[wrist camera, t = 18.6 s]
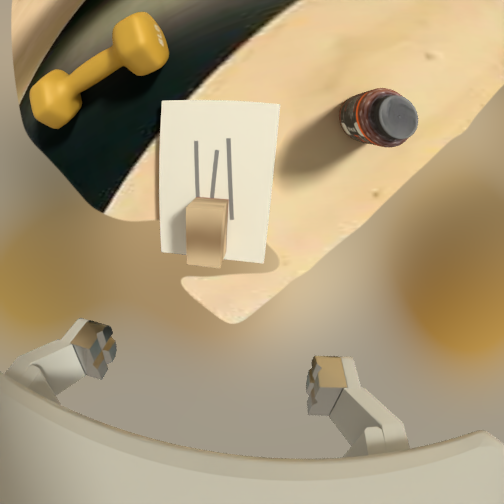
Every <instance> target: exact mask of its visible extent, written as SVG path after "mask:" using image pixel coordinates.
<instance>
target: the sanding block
mask: <svg viewBox="0 0 504 504" xmlns="http://www.w3.org/2000/svg"><path fill="white" fill-rule="evenodd" d="M228 203H229V199H219V198H205V197H196V198H195V199H194V200H193V201H192V202H191V203H190V204H189V205H188V206H187V207H186V255H187V265H195V266H204V267H213V268H220V267H221V264H222V262H223V259H224V256H225V254H226V245H227V223H228Z"/></svg>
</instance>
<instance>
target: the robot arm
mask: <svg viewBox="0 0 504 504" xmlns="http://www.w3.org/2000/svg"><path fill="white" fill-rule="evenodd" d="M112 334H113V332H112V329H111V327H110V326H108V325H105V324H101V323H98V322H94V321H91V320H86V319H83V318H79V319H78V320H77V321H76V322H75V323H74V325H73V326H72V327H71V328H70V329H69V330H68V332H67V333H66V334H65V336H64V337H63V338H62V339H61V340H59V339H58V340H56V341H53V342H51V343H48V344H47V345H44V346H42V347H39V348H37V349H35V350H32V351H30V352H28V353H26V354H23V355H21V356H19V357H18V358H17V359H16V360H15V361H14V363H13V364H12V365H11V366H10V368H9V369H8V370H7V371H6V373H5V374H3V373H1V372H0V504H504V444H503V443H502V442H501V441H499V440H498V439H497V438H495V437H494V436H493V435H491V434H490V433H488V432H486V431H485V430H478V431H474V432H471V433H468V434H465V435H462V436H459V437H456V438H452V439H449V440H445V441H441V442H438V443H433V444H429V445H425V446H420V447H416V448H412V449H410V447H409V443H408V439H407V435H406V432H405V428H404V425H403V422H401V421H400V420H399V419H398V418H397V417H396V416H395V415H394V414H393V413H391V412H390V411H389V410H388V409H387V408H386V407H385V406H384V405H383V404H382V403H380V402H379V401H378V400H377V399H376V398H375V397H374V396H373V395H372V394H371V393H370V392H368V391H367V390H366V389H365V388H361V386H360V382H359V378H358V374H357V370H356V366H355V363H354V359H353V358H352V357H342V356H340V357H338V356H314V357H313V359H312V368H311V369H310V370H309V372H308V375H307V382H306V392H307V394H308V395H309V398H308V400H307V406H308V407H307V408H308V415H321V416H329V417H330V419H331V420H332V421H333V423H334V424H335V425H336V427H337V428H338V429H339V431H340V432H341V433H342V434H343V436H344V437H345V438H346V440H347V441H348V442H349V444H350V445H351V446H352V447H351V448H350V449H349V450H348V451H347V453H346V454H345V455H344V456H343V457H342V458H323V459H287V458H265V457H253V456H243V455H234V454H227V453H219V452H213V451H207V450H201V449H196V448H191V447H186V446H181V445H176V444H172V443H167V442H164V441H160V440H156V439H152V438H148V437H145V436H141V435H138V434H135V433H131V432H128V431H125V430H122V429H119V428H116V427H113V426H110V425H107V424H105V423H102V422H99V421H97V420H94V419H91V418H89V417H87V416H84V415H82V414H79V413H77V412H75V411H72V410H70V409H68V408H66V407H64V406H61V404H60V402H59V400H58V399H57V397H56V395H58V394H59V393H61V392H62V391H64V390H65V389H67V388H68V387H69V386H71V385H72V384H74V383H76V382H77V381H79V380H80V379H81V378H83V377H85V376H86V375H88V376H91V377H94V378H97V379H100V380H102V379H103V377H104V375H105V373H106V372H107V370H108V366H107V364H109V363H111V362H112V361H113V360H114V358H115V355H116V342H115V340H114V339H113V338H112V337H111V335H112Z"/></svg>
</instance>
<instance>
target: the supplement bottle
mask: <svg viewBox="0 0 504 504" xmlns="http://www.w3.org/2000/svg"><path fill="white" fill-rule="evenodd" d="M339 118H340V123H341V126H342V128H343V130H344V131H345V132H346V134H347V135H348V136H350V137H351V138H353V139H355V140H357V141H359V142H363V143H368V144H373V145H377V146H383V147H395V146H398V145H401V144H402V143H404V142H405V141H406V140H407V139H408V138H409V137H410V136H412V135H413V134H414V132H415V131H416V129H417V125H418V115H417V112H416V110H415V107H414V106H413V105H412V103H411V102H410V101H409V100H407V99H406V98H404V97H403V96H402V95H400V94H399V93H397V92H395V91H393V90H391V89H386V88H378V89H374V90H370V91H367V92H364V93H361V94H358V95H355V96H353V97H351V98H349V99H347V100H346V101H345V102H344V103H343V105H342V107H341V109H340V114H339Z"/></svg>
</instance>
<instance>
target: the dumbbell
mask: <svg viewBox="0 0 504 504" xmlns="http://www.w3.org/2000/svg"><path fill="white" fill-rule="evenodd" d="M112 39H113V45H112V46H111V47H110V48H108V49H106V50H104V51H102V52H100V53H99V54H97V55H96V56H94V57H92V58H91V59H89V60H88V61H87V62H85V63H84V64H82V65H81V66H80V67H78V68H77V69H76V70H75V71H74V72H73V73H71V74H70V75H69V74H67V73H65V72H64V71H62V70H58V69H56V70H53V71H51V72H49V73H48V74H46V75H45V76H44V77H42V78H41V79H40V80H39V81H38V82H37V83H36V84H35V85H34V86H33V87H32V88H31V90H30V102H31V107H32V111H33V115H34V117H35V118H36V119H37V120H38V121H40V122H41V123H43V124H45V125H47V126H49V127H51V128H54V129H59V128H61V127H62V126H64V125H65V124H66V123H68V122H69V121H70V120H71V119H72V118H73V117H74V116H75V115H76V114H77V112H78V111H79V110H80V108H81V106H82V99H81V94H80V93H81V92H83V91H85V90H86V89H88V88H90V87H92V86H93V85H95V84H96V83H98V82H100V81H101V80H103V79H104V78H106V77H107V76H109V75H110V74H112V73H113V72H115V71H116V70H117V69H119V68H120V67H122V66H125V67H127V68H128V69H129V70H130V71H131V72H132V73H134V74H136V75H138V76H144V75H147V74H149V73H151V72H154V71H156V70H158V69H159V68H161V67H162V66H163V65H164V64H165V63H166V62H167V60H168V57H169V51H168V46H167V43H166V40H165V37H164V34H163V32H162V30H161V29H160V27H159V26H158V24H157V23H156V22H155V20H154V19H153V18H152V17H151V16H150V15H149V14H148V13H146V12H138V13H135V14H132V15H130V16H128V17H127V18H125V19H123V20H121V21H120V22H119V23H117V24H116V25H115V27H114V29H113V33H112Z"/></svg>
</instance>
